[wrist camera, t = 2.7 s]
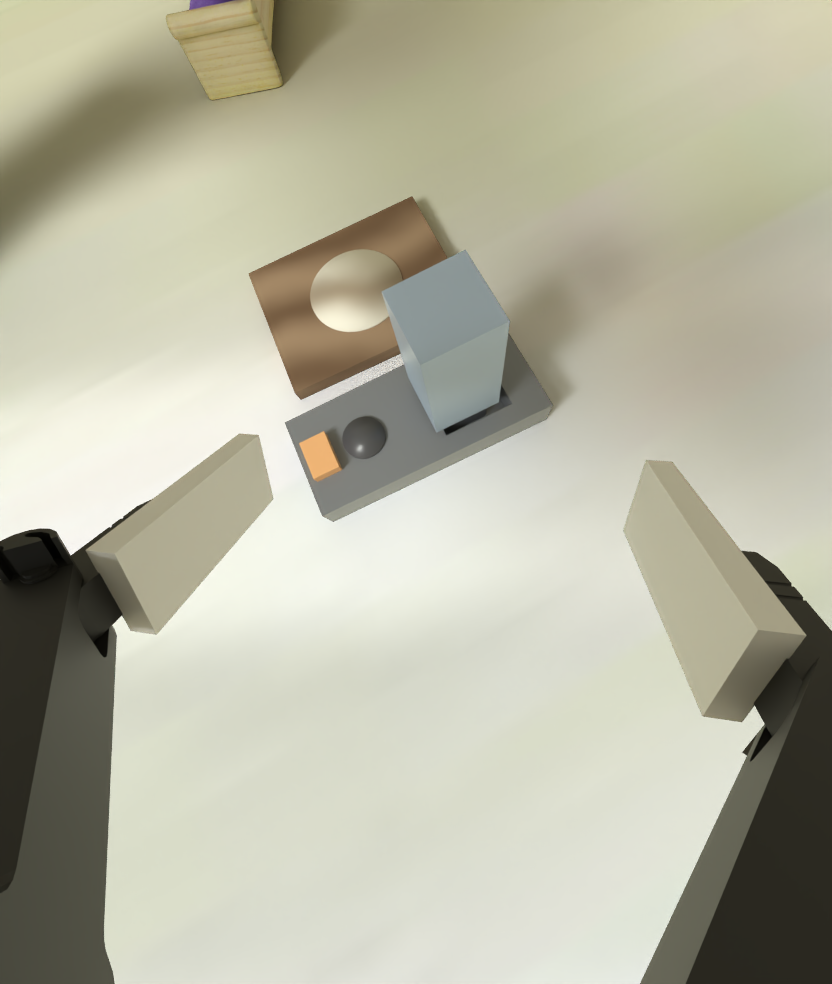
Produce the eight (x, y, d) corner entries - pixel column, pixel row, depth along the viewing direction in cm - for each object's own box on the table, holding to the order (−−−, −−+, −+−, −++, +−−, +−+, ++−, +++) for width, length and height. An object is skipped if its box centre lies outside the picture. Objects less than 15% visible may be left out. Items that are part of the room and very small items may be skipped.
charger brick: (413, 394, 32) (381, 291, 21) (468, 367, 32) (465, 249, 21) (439, 445, 31) (420, 365, 20) (496, 417, 31) (509, 320, 20)
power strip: (335, 522, 32) (318, 514, 28) (300, 437, 34) (280, 418, 30) (545, 421, 32) (555, 399, 28) (496, 341, 34) (500, 311, 30)
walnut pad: (255, 283, 37) (247, 272, 36) (414, 208, 37) (412, 195, 36) (301, 399, 34) (294, 392, 33) (476, 318, 34) (476, 307, 32)
